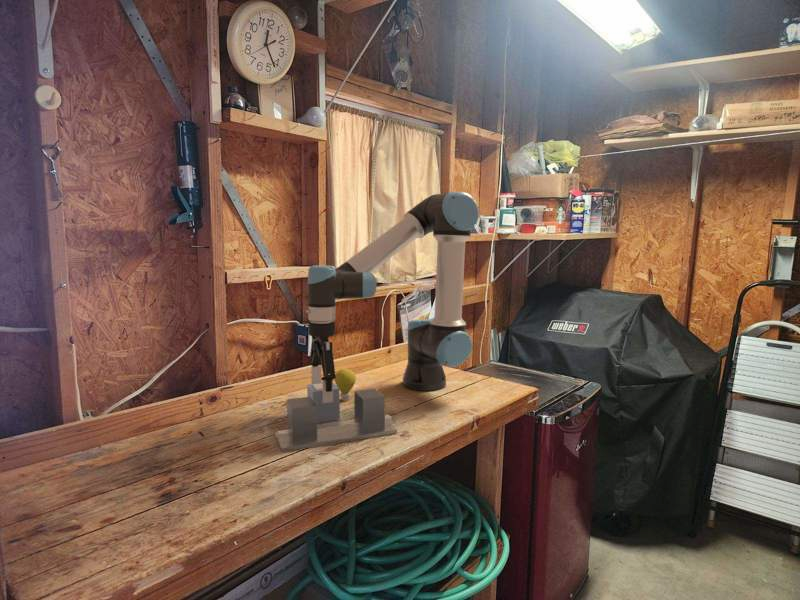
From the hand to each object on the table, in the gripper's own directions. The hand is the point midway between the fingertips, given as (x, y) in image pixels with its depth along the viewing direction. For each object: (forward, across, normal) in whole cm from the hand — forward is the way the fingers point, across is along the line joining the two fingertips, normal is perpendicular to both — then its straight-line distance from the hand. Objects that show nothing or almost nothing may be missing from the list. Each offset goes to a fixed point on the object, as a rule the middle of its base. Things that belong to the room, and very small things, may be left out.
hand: (321, 394), depth 141 cm
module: (+7, 0, 0) cm, 7 cm away
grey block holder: (+7, +14, 0) cm, 15 cm away
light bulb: (+7, -12, +10) cm, 17 cm away
